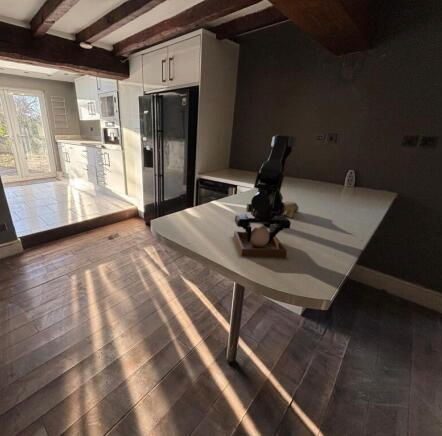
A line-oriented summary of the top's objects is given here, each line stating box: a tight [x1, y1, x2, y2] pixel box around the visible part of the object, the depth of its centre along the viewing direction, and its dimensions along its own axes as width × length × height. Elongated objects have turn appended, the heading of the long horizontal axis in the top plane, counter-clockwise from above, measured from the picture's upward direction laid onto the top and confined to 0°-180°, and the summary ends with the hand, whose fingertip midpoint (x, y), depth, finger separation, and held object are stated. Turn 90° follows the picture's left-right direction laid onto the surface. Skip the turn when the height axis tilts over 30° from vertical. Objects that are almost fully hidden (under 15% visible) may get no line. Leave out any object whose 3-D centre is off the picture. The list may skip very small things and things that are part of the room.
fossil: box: [279, 200, 299, 219], centre depth 124 cm, size 15×10×10 cm
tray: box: [233, 230, 288, 259], centre depth 88 cm, size 16×15×3 cm
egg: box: [250, 224, 270, 247], centre depth 87 cm, size 7×7×8 cm
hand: (258, 242), depth 88 cm, fingers closed on egg, 7 cm apart
